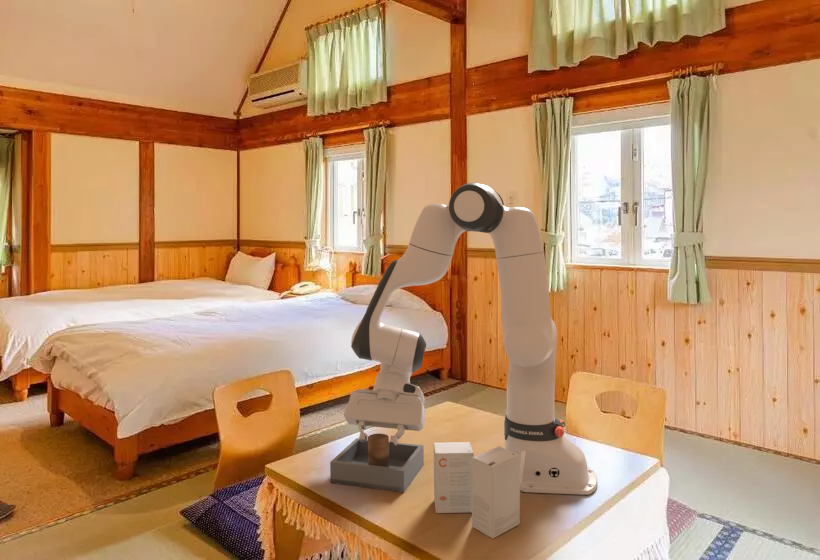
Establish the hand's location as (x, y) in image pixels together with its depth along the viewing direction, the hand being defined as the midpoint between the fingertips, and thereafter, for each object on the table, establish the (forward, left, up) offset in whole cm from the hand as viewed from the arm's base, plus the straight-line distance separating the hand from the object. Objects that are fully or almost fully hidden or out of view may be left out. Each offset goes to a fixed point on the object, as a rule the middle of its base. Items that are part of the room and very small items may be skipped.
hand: (377, 442), depth 138 cm
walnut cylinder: (0, -1, -7) cm, 7 cm away
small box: (-21, +10, -8) cm, 25 cm away
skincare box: (-31, +16, -8) cm, 36 cm away
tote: (0, -1, -8) cm, 8 cm away
